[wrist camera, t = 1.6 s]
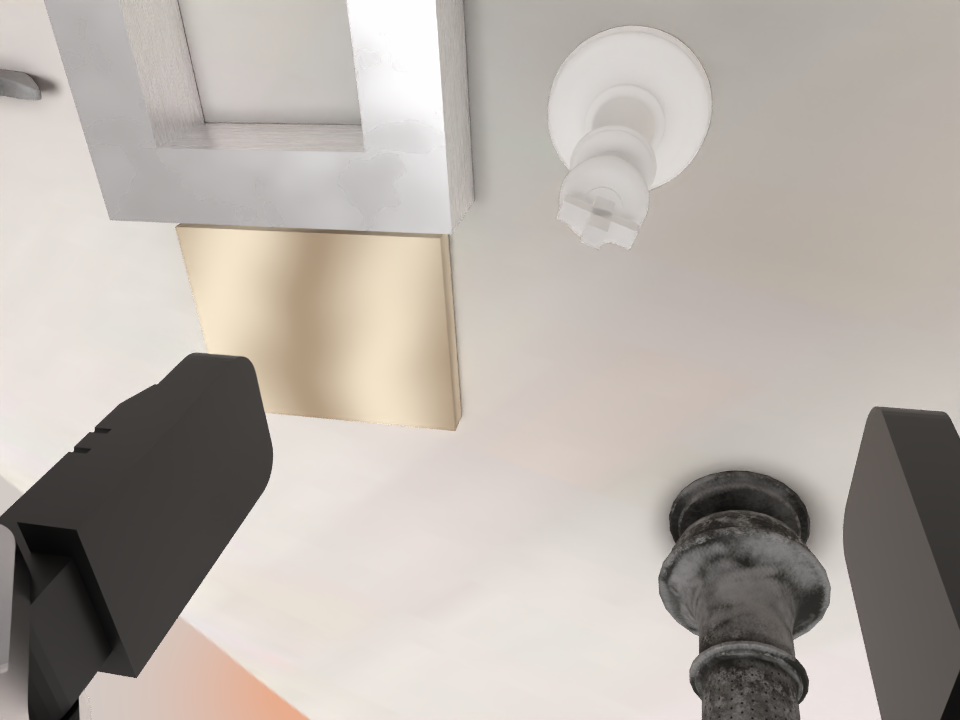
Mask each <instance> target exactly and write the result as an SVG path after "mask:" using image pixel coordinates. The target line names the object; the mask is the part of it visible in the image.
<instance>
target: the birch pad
mask: <svg viewBox="0 0 960 720" xmlns="http://www.w3.org/2000/svg"><path fill="white" fill-rule="evenodd" d="M175 228H176V232H177V236H178V240H179V243H180V247H181V251H182V255H183V259H184V263H185V267H186V271H187V274H188V278H189V282H190V286H191V290H192V294H193V298H194V302H195V305H196V309H197V313H198V317H199V321H200V325H201V329H202V332H203V336H204V340H205V344H206V348H207V352H208V354H220V355H233V356H244V357H246V358H248V359H249V360H250V361H251V362H252V364H253V366H254V368H255V371H256V375H257V380H258V384H259V389H260V393H261V398H262V402H263V407H264V411H265V413H274V414H284V415H294V416H305V417H315V418H326V419H336V420H346V421H357V422H367V423H377V424H388V425H398V426H409V427H419V428H429V429H440V430H450V431H456V428H457V426H458V424H459V421H460V419H461V417H462V415H461V401H460V388H459V374H458V361H457V347H456V333H455V320H454V306H453V293H452V279H451V265H450V252H449V238H448V234H429V233H405V232H381V231H357V230H333V229H309V228H286V227H262V226H238V225H214V224H190V223H180V224H179V225H177V226H176V227H175Z"/></svg>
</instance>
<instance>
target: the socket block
mask: <svg viewBox="0 0 960 720" xmlns="http://www.w3.org/2000/svg"><path fill="white" fill-rule="evenodd" d="M346 1H347V9H348V17H349V25H350V33H351V41H352V50H353V58H354V66H355V74H356V82H357V90H358V98H359V106H360V114H361V123H362V125H323V124H239V123H205V122H204V118H203V113H202V109H201V104H200V100H199V95H198V91H197V86H196V82H195V77H194V73H193V68H192V64H191V59H190V55H189V50H188V46H187V41H186V37H185V32H184V28H183V23H182V19H181V14H180V10H179V5H178V1H177V0H44V2H45V5H46V9H47V12H48V15H49V19H50V22H51V25H52V29H53V32H54V35H55V39H56V42H57V45H58V49H59V52H60V55H61V59H62V62H63V65H64V69H65V72H66V75H67V79H68V82H69V85H70V88H71V92H72V95H73V98H74V102H75V105H76V108H77V112H78V115H79V118H80V122H81V125H82V128H83V132H84V135H85V138H86V142H87V145H88V148H89V152H90V155H91V158H92V162H93V165H94V168H95V172H96V175H97V178H98V181H99V185H100V188H101V191H102V195H103V198H104V201H105V205H106V208H107V211H108V215H109V218H110V220H119V221H143V222H166V223H190V224H214V225H238V226H262V227H286V228H309V229H333V230H357V231H381V232H405V233H429V234H452V233H453V232H454V230H455V229H456V227H457V226H458V224H459V223H460V221H461V220H462V218H463V217H464V215H465V214H466V212H467V211H468V209H469V208H470V206H471V205H472V203H473V202H474V188H473V170H472V151H471V133H470V115H469V97H468V78H467V60H466V42H465V23H464V5H463V0H346Z"/></svg>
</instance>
